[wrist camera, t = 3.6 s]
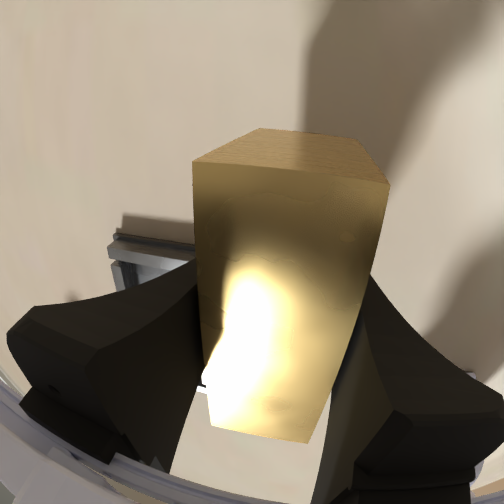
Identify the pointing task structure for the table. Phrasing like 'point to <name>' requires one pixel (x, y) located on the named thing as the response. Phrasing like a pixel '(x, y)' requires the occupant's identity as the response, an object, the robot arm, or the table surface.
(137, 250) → the chain jig
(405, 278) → the table surface
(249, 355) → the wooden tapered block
